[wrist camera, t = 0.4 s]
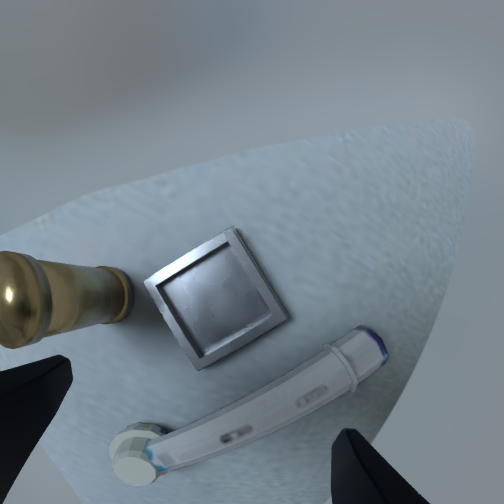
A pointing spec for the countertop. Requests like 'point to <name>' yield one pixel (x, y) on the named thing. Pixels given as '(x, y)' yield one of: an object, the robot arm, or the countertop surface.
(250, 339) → the shallow square tray
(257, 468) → the countertop surface
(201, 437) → the white long piece
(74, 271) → the brass domed cylinder
